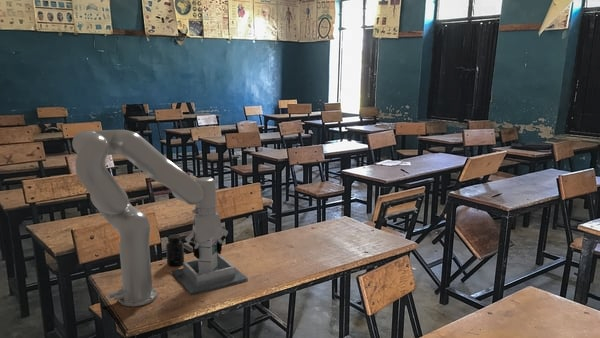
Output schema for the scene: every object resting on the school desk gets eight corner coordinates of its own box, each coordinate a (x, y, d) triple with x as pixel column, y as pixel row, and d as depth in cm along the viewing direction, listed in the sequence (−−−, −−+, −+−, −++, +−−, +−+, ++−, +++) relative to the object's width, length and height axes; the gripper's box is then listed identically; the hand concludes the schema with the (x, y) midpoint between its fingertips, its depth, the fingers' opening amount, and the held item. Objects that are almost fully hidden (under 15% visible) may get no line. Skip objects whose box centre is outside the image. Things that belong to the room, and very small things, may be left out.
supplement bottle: (166, 262, 186) (164, 234, 184) (182, 259, 189) (181, 232, 187) (168, 268, 180) (166, 240, 178) (185, 265, 183) (184, 237, 180)
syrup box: (212, 274, 169) (211, 238, 166) (198, 273, 170) (196, 236, 167) (218, 268, 174) (217, 233, 171) (204, 267, 175) (203, 231, 173)
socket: (191, 295, 158) (190, 282, 157) (172, 273, 176) (171, 261, 175) (247, 280, 169) (247, 268, 168) (224, 261, 187) (223, 249, 186)
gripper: (186, 217, 160) (189, 263, 163) (231, 209, 169) (233, 253, 172) (179, 212, 166) (182, 256, 169) (223, 205, 175) (225, 247, 178)
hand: (207, 254), depth 171 cm, fingers closed on syrup box, 8 cm apart
